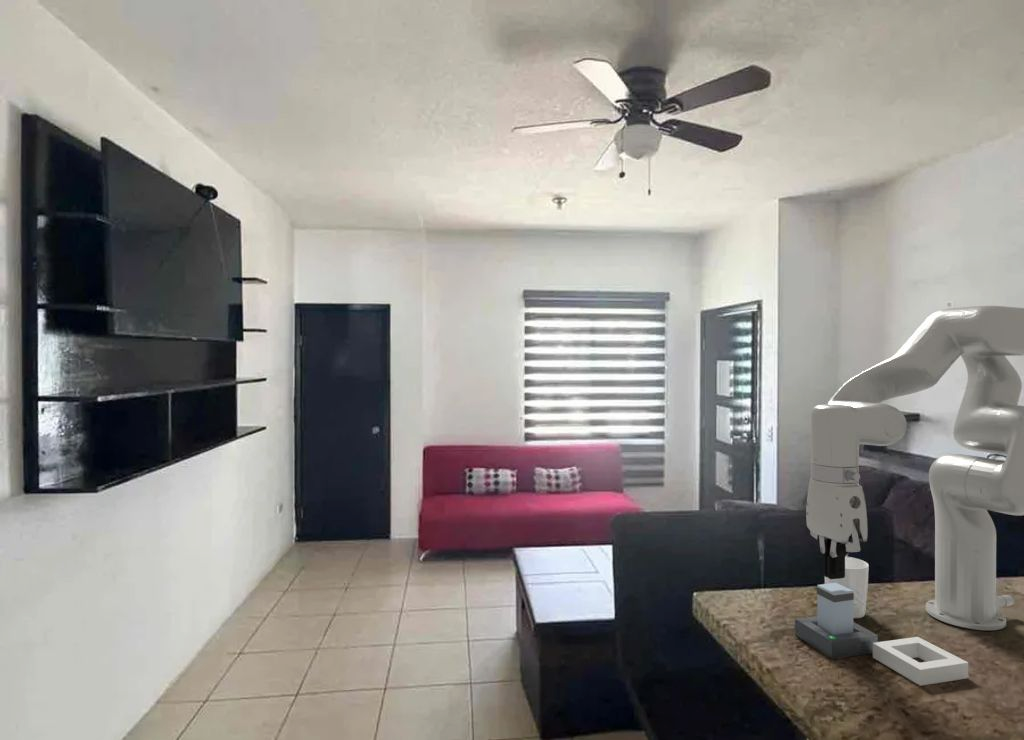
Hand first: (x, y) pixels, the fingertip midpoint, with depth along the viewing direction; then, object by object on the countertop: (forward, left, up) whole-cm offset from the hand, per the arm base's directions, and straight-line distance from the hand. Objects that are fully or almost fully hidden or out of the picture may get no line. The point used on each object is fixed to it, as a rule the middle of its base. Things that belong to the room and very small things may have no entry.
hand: (833, 576), depth 108 cm
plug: (0, 0, -12) cm, 12 cm away
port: (0, 0, -12) cm, 12 cm away
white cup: (-12, -11, -12) cm, 20 cm away
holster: (-7, +10, -12) cm, 17 cm away
